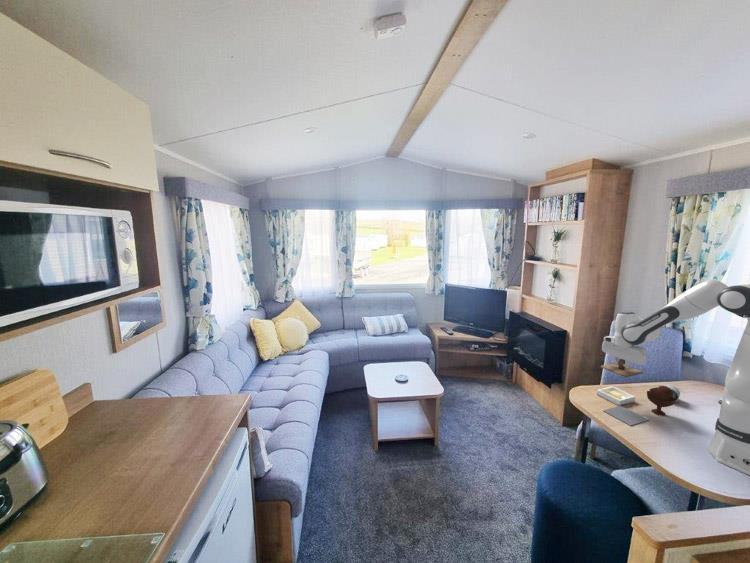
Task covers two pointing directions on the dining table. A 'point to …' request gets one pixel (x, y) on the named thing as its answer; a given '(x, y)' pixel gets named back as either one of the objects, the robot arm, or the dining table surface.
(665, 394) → the ice cream bowl
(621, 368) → the lid
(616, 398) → the dish
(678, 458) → the dining table surface
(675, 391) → the ceramic mug
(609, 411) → the mat
